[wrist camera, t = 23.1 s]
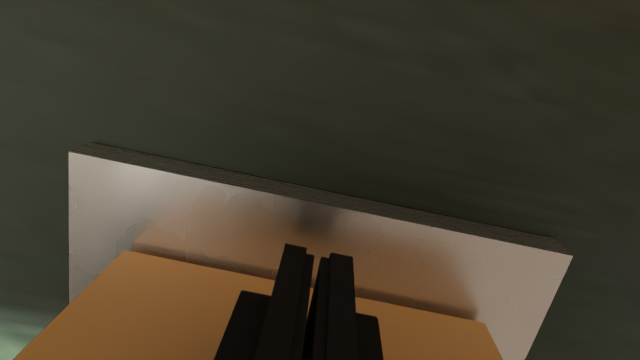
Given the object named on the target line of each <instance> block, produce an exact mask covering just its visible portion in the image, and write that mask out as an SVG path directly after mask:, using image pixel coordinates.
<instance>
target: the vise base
mask: <svg viewBox="0 0 640 360" xmlns="http://www.w3.org/2000/svg"><path fill="white" fill-rule="evenodd" d="M285 243H287V244H292V245H297V246H302V247H307V251H306V253H307V254H312V255H314V263H313V272H312V280H311V288H314V285H315V280H316V276H317V272H318V267H319V263H320V259H321V256H322V257H327V258H329V256H330V253H331V252H332V253H337V254H342V255H347V256H352V257H353V266H354V285H355V297H359V298H364V299H369V300H374V301H379V302H384V303H389V304H394V305H399V306H404V307H409V308H414V309H419V310H424V311H429V312H433V313H438V314H443V315H448V316H453V317H458V318H463V319H468V320H473V321H478V322H483V323H485V325H486V327H487V329H488V331H489V332H490V334H491V336H492V338H493V340H494V342H495V344H496V346H497V348H498V350H499V352H500V354H501V356H502V358H503V360H525V358H526V356H527V354H528V352H529V350H530V348H531V345H532V343H533V341H534V339H535V337H536V335H537V333H538V330H539V328H540V326H541V324H542V322H543V320H544V318H545V315H546V313H547V311H548V309H549V307H550V305H551V303H552V300H553V298H554V296H555V294H556V292H557V290H558V287H559V285H560V283H561V281H562V279H563V277H564V275H565V272H566V270H567V268H568V266H569V264H570V262H571V260H572V257H573V255H572V254H571V253H570V252H568V251H567V250H566V249H565V248H564V247H563V246H562V245H561V244H560V243H559V242H558V241H557V240H556V239H555V238H550V237H546V236H541V235H536V234H531V233H526V232H521V231H517V230H512V229H507V228H502V227H497V226H492V225H488V224H483V223H478V222H473V221H468V220H464V219H459V218H454V217H449V216H444V215H439V214H435V213H430V212H425V211H420V210H415V209H410V208H406V207H401V206H396V205H391V204H386V203H381V202H377V201H372V200H367V199H362V198H357V197H353V196H348V195H343V194H338V193H333V192H328V191H324V190H319V189H314V188H309V187H304V186H299V185H295V184H290V183H285V182H280V181H275V180H270V179H266V178H261V177H256V176H251V175H246V174H242V173H237V172H232V171H227V170H222V169H217V168H213V167H208V166H203V165H198V164H193V163H188V162H184V161H179V160H174V159H169V158H164V157H159V156H155V155H150V154H145V153H140V152H135V151H131V150H126V149H121V148H116V147H111V146H106V145H102V144H97V143H92V142H91V143H88V144H86V145H84V146H81V147H79V148H77V149H74V150H72V151H69V304H70V303H71V302H72V301H73V300H74V299H75V298H76V297H77V296H78V295H79V294H80V293H81V292H82V291H83V290H84V289H85V288H86V287H87V286H88V285H89V284H90V283H91V282H92V281H93V280H94V279H96V278H97V277H98V276H99V275H100V274H101V273H102V272H103V271H104V270H105V269H106V268H107V267H108V266H109V265H110V264H111V263H112V262H113V261H114V260H115V259H116V258H117V257H118V256H119V255H120V254H121V253H122V252H123V251H124V250H127V251H132V252H137V253H142V254H147V255H152V256H157V257H161V258H166V259H171V260H176V261H181V262H186V263H191V264H196V265H201V266H206V267H211V268H216V269H221V270H226V271H231V272H236V273H241V274H246V275H250V276H255V277H260V278H265V279H270V280H276V276H277V272H278V269H279V265H280V261H281V258H282V254H283V250H284V246H285Z"/></svg>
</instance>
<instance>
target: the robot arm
mask: <svg viewBox="0 0 640 360" xmlns="http://www.w3.org/2000/svg"><path fill="white" fill-rule="evenodd" d="M306 251H307V247H302V246H297V245H292V244H287V243H285V246H284V250H283V254H282V258H281V261H280V265H279V269H278V272H277V276H276V280H275V284H274V287H273V291H272V295H271V296H270V295H265V294H260V293H255V292H250V291H245V290H242V291H241V292H240V294H239V297H238V299H237V302H236V304H235V307H234V309H233V312H232V314H231V317H230V319H229V322H228V325H227V327H226V330H225V332H224V335H223V337H222V340H221V342H220V345H219V347H218V350H217V352H216V355H215V357H214V360H384V359H383V351H382V344H381V336H380V328H379V322H378V318H377V317H376V316H371V315H366V314H361V313H356V303H355V285H354V266H353V257H352V256H347V255H342V254H337V253H332V252H331V253H330V256H329V258H327V257H322V256H321V259H320V263H319V267H318V272H317V276H316V280H315V285H314V289H313V294H312V298H311V303H310V307H309V311H308V305H309V296H310V288H311V280H312V272H313V263H314V255H312V254H307V253H306ZM307 313H308V316H307Z"/></svg>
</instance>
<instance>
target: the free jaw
mask: <svg viewBox="0 0 640 360" xmlns="http://www.w3.org/2000/svg"><path fill="white" fill-rule="evenodd" d="M274 284H275V280H270V279H265V278H260V277H255V276H250V275H246V274H241V273H236V272H231V271H226V270H221V269H216V268H211V267H206V266H201V265H196V264H191V263H186V262H181V261H176V260H171V259H166V258H161V257H157V256H152V255H147V254H142V253H137V252H132V251H127V250H124V251H123V252H122V253H121V254H120V255H119V256H118V257H117V258H116V259H115V260H114V261H113V262H112V263H111V264H110V265H109V266H108V267H107V268H106V269H105V270H104V271H103V272H102V273H101V274H100V275H99V276H98V277H97V278H96V279H94V280H93V281H92V282H91V283H90V284H89V285H88V286H87V287H86V288H85V289H84V290H83V291H82V292H81V293H80V294H79V295H78V296H77V297H76V298H75V299H74V300H73V301H72V302H71V303H70V304H69V305H68V306H67V307H66V308H65V309H64V310H63V311H62V312H61V313H60V314H59V315H58V316H57V317H56V318H55V319H54V320H53V321H52V322H51V323H50V324H49V325H48V326H47V327H46V328H45V329H44V330H43V331H42V332H41V333H40V334H39V335H37V336H36V337H35V338H34V339H33V340H32V341H31V342H30V343H29V344H28V345H27V346H26V347H25V348H24V349H23V350H22V351H21V352H20V353H19V354H18V355H17V356H16V357H15V358H14V359H13V360H214V357H215V355H216V352H217V350H218V347H219V345H220V342H221V340H222V337H223V335H224V332H225V330H226V327H227V325H228V322H229V319H230V317H231V314H232V312H233V309H234V307H235V304H236V302H237V299H238V297H239V294H240V292H241V291H242V290H245V291H250V292H255V293H260V294H265V295H270V296H271V295H272V291H273V287H274ZM313 289H314V288H310V296H309V305H308V311H309V307H310V303H311V298H312V294H313ZM355 303H356V313H361V314H366V315H371V316H376V317H377V318H378V322H379V328H380V336H381V344H382V351H383V359H384V360H503V358H502V356H501V354H500V352H499V350H498V348H497V346H496V344H495V342H494V340H493V338H492V336H491V334H490V332H489V331H488V329H487V327H486V325H485V323H483V322H478V321H473V320H468V319H463V318H458V317H453V316H448V315H443V314H438V313H433V312H429V311H424V310H419V309H414V308H409V307H404V306H399V305H394V304H389V303H384V302H379V301H374V300H369V299H364V298H359V297H355ZM307 316H308V313H307Z"/></svg>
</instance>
